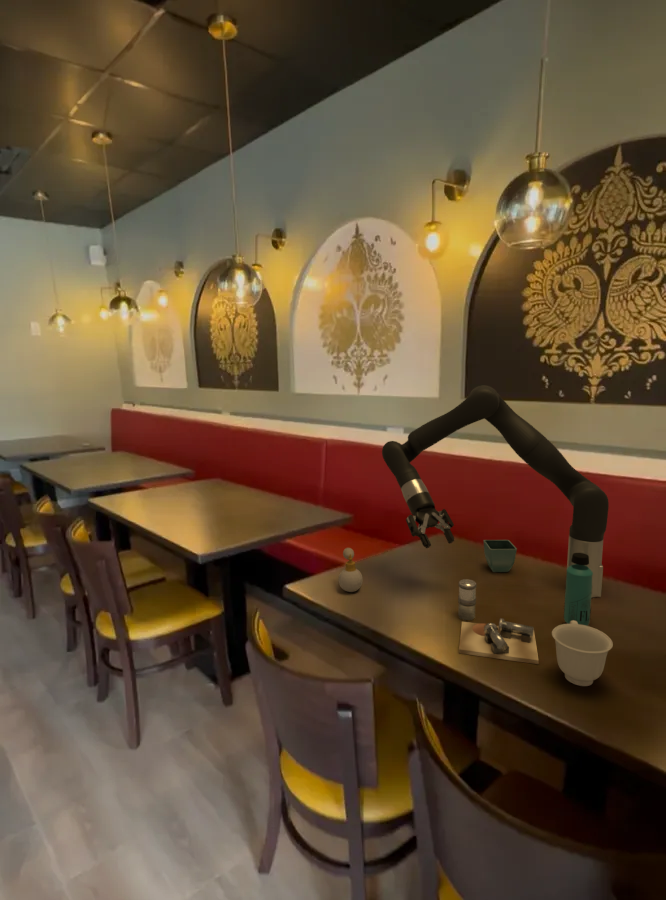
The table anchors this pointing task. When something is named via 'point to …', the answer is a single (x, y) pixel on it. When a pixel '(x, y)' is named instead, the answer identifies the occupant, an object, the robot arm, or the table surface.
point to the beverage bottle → (578, 590)
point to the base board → (476, 645)
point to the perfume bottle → (350, 573)
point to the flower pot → (499, 554)
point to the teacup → (581, 652)
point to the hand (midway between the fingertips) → (440, 544)
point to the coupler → (467, 599)
